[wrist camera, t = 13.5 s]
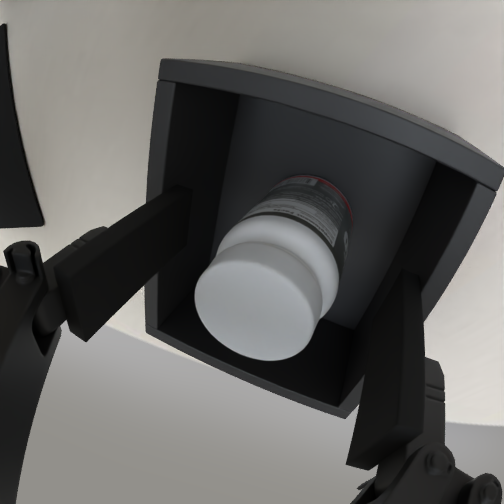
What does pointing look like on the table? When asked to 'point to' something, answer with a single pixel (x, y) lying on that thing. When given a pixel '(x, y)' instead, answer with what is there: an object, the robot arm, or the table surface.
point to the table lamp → (13, 159)
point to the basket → (320, 165)
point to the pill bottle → (277, 270)
